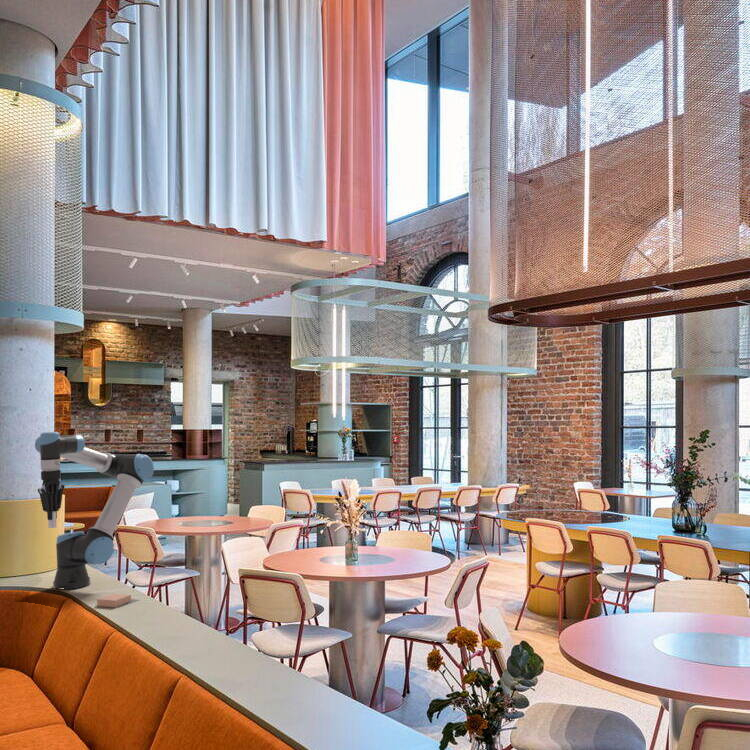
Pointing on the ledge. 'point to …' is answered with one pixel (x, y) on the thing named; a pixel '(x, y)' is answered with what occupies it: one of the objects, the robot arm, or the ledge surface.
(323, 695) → the ledge surface
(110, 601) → the block
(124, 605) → the mat
